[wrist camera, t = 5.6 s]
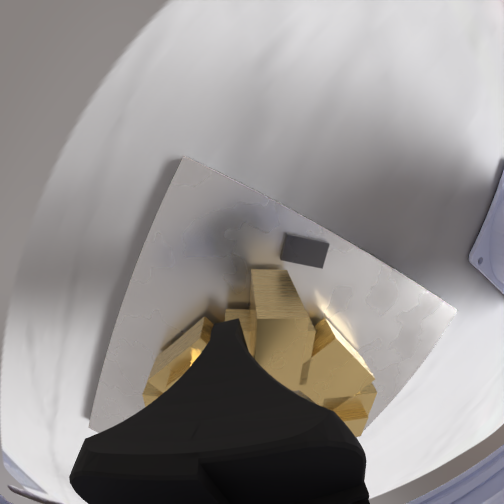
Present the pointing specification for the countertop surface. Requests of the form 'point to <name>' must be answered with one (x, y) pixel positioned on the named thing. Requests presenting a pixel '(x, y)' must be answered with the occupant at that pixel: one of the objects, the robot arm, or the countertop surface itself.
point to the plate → (238, 288)
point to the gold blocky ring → (282, 351)
